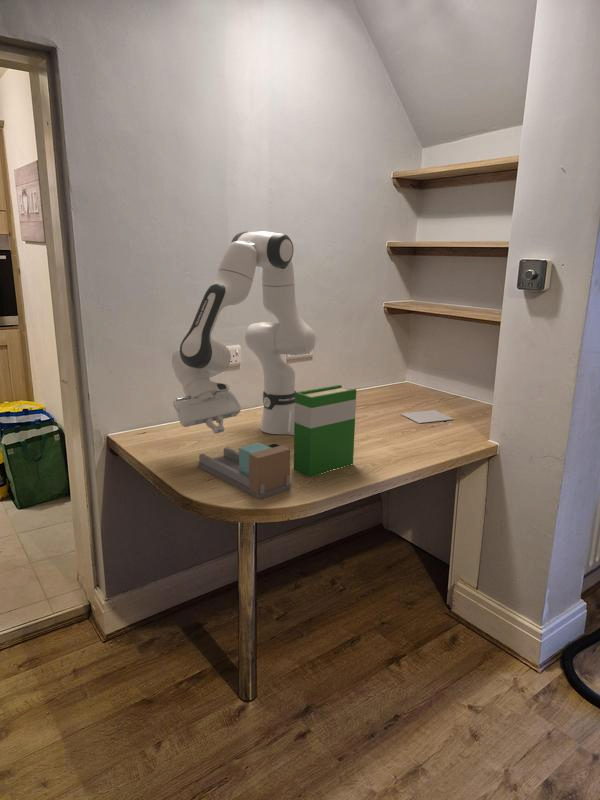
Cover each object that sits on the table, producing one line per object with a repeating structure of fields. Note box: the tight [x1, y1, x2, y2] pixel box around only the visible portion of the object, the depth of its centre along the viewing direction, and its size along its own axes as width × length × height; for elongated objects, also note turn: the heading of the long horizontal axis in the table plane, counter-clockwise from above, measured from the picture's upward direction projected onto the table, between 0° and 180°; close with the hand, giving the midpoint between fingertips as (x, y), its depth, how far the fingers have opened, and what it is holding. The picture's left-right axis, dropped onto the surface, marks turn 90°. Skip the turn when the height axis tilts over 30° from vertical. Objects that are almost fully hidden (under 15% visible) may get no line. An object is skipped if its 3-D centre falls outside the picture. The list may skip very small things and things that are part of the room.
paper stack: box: [399, 409, 454, 426], centre depth 225 cm, size 23×25×1 cm
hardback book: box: [293, 384, 357, 478], centre depth 172 cm, size 18×7×24 cm, turn 129°
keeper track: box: [197, 445, 292, 500], centre depth 165 cm, size 11×30×12 cm, turn 42°
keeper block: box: [238, 442, 271, 476], centre depth 160 cm, size 7×7×9 cm
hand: (219, 432), depth 172 cm, fingers closed
